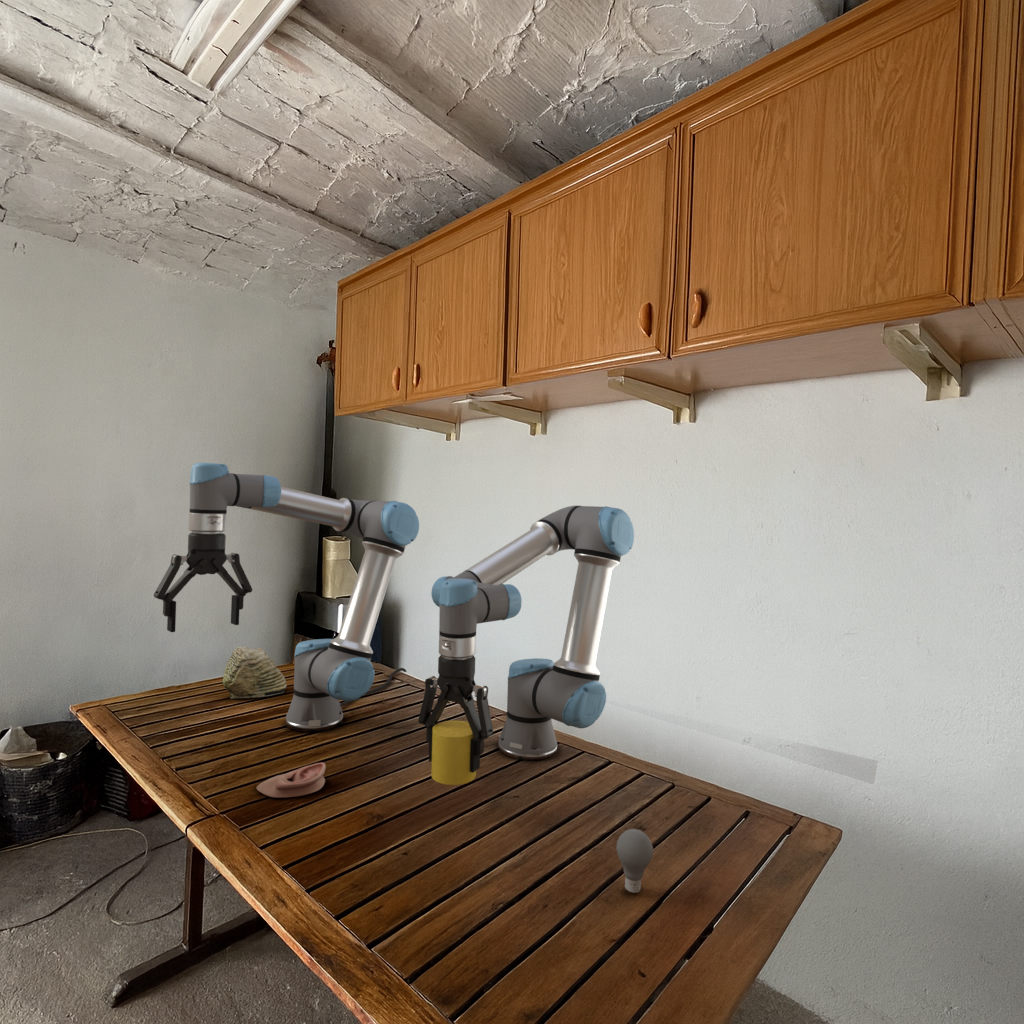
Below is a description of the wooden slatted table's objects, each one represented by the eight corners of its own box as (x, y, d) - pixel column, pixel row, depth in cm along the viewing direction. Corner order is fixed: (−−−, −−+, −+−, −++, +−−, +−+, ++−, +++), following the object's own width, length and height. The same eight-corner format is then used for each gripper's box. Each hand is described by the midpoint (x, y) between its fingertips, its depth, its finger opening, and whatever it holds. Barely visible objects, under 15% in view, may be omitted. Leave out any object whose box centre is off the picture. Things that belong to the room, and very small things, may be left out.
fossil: (218, 695, 195) (220, 647, 195) (278, 685, 208) (279, 640, 207) (228, 703, 189) (230, 653, 188) (289, 692, 201) (290, 645, 201)
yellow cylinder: (454, 761, 136) (456, 717, 136) (485, 775, 130) (486, 728, 130) (422, 774, 129) (423, 728, 129) (452, 789, 123) (453, 740, 123)
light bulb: (610, 879, 108) (613, 822, 108) (644, 879, 109) (647, 822, 109) (619, 902, 102) (622, 840, 102) (655, 901, 103) (658, 840, 103)
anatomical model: (248, 775, 133) (279, 754, 144) (247, 794, 133) (278, 771, 144) (306, 783, 130) (332, 761, 142) (305, 802, 130) (332, 779, 142)
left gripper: (151, 534, 129) (147, 637, 130) (269, 533, 147) (265, 623, 148) (139, 531, 134) (136, 631, 135) (255, 531, 152) (251, 618, 153)
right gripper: (402, 651, 130) (399, 759, 131) (495, 667, 121) (492, 784, 121) (423, 644, 137) (420, 746, 138) (513, 659, 127) (509, 769, 128)
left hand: (204, 627), depth 141 cm, fingers open, 13 cm apart
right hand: (454, 764), depth 130 cm, fingers closed on yellow cylinder, 9 cm apart
